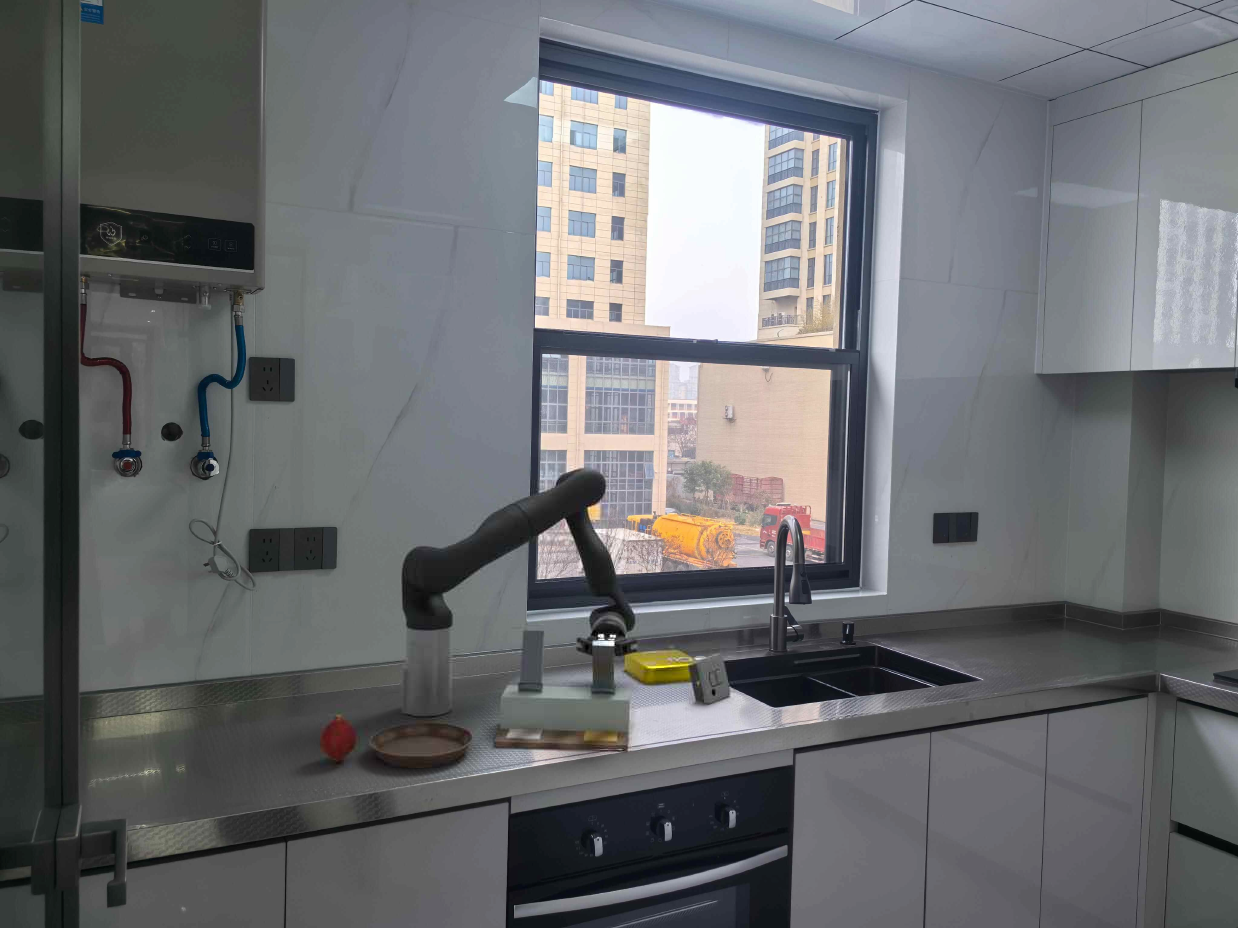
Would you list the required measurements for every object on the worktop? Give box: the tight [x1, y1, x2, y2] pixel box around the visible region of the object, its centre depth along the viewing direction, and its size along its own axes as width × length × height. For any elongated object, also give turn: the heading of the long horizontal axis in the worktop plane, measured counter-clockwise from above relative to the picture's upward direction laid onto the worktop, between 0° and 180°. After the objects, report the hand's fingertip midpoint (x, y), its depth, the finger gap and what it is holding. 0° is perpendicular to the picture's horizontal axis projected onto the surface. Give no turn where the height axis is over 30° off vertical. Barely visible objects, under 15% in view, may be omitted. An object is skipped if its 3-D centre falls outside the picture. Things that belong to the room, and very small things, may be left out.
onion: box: [319, 714, 357, 763], centre depth 145 cm, size 6×6×8 cm
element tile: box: [624, 649, 698, 685], centre depth 205 cm, size 15×15×5 cm
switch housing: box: [500, 684, 631, 732], centre depth 164 cm, size 24×8×6 cm, turn 88°
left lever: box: [518, 629, 545, 691], centre depth 165 cm, size 5×2×11 cm, turn 88°
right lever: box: [590, 641, 617, 693], centre depth 161 cm, size 5×2×11 cm, turn 88°
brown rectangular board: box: [493, 728, 630, 750], centre depth 161 cm, size 24×16×1 cm, turn 88°
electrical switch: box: [688, 653, 731, 705], centre depth 186 cm, size 9×5×9 cm, turn 141°
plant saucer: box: [368, 722, 474, 769], centre depth 149 cm, size 18×18×3 cm
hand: (604, 655), depth 165 cm, fingers closed
